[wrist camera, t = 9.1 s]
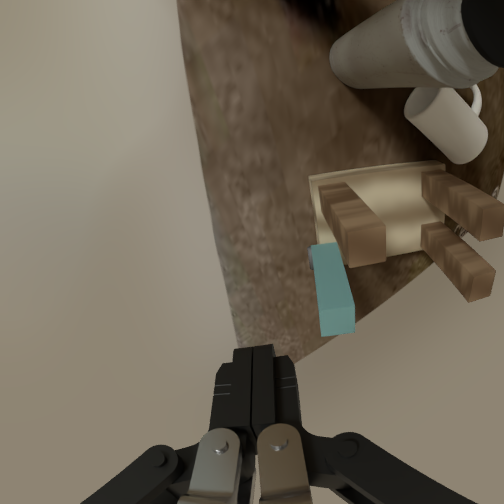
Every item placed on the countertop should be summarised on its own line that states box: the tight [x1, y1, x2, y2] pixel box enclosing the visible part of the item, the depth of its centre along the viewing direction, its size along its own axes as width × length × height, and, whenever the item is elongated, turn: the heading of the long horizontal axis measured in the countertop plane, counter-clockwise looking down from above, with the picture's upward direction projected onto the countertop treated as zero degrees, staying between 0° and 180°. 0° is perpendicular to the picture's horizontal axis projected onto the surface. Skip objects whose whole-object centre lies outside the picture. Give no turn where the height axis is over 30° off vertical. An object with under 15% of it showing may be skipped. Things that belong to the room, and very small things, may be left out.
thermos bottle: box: [329, 0, 504, 89], centre depth 21 cm, size 8×8×28 cm
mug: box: [404, 84, 488, 164], centre depth 32 cm, size 12×10×8 cm
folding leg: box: [307, 242, 355, 337], centre depth 37 cm, size 4×4×14 cm
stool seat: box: [308, 160, 504, 303], centre depth 35 cm, size 13×20×18 cm, turn 102°
